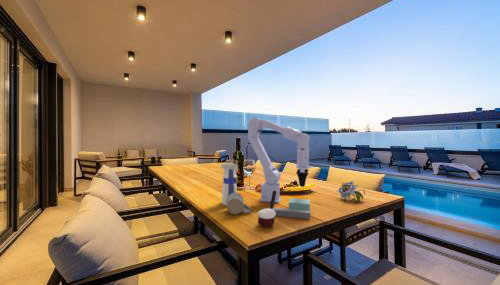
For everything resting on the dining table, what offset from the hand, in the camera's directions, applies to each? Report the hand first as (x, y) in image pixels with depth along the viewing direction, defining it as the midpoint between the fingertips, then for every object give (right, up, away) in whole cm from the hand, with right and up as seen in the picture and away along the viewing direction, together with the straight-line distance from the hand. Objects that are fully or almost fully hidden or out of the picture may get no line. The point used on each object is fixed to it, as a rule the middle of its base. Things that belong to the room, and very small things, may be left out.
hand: (302, 184), depth 110 cm
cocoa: (-20, -10, -27) cm, 35 cm away
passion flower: (+28, -10, +9) cm, 31 cm away
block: (-3, -10, -8) cm, 13 cm away
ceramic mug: (-31, -10, -13) cm, 35 cm away
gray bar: (-9, -10, -18) cm, 22 cm away
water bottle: (-36, -9, +1) cm, 37 cm away
